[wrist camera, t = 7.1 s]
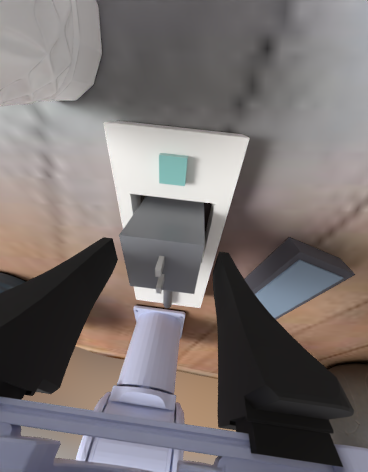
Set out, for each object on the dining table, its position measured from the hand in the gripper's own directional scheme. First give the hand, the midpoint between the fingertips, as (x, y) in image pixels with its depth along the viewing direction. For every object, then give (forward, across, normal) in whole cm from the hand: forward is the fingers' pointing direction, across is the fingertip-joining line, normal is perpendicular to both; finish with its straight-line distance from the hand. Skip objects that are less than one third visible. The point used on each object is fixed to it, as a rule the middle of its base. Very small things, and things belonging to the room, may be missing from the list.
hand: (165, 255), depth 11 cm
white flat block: (+4, 0, +2) cm, 5 cm away
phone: (+5, -12, +6) cm, 14 cm away
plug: (+5, 0, 0) cm, 5 cm away
